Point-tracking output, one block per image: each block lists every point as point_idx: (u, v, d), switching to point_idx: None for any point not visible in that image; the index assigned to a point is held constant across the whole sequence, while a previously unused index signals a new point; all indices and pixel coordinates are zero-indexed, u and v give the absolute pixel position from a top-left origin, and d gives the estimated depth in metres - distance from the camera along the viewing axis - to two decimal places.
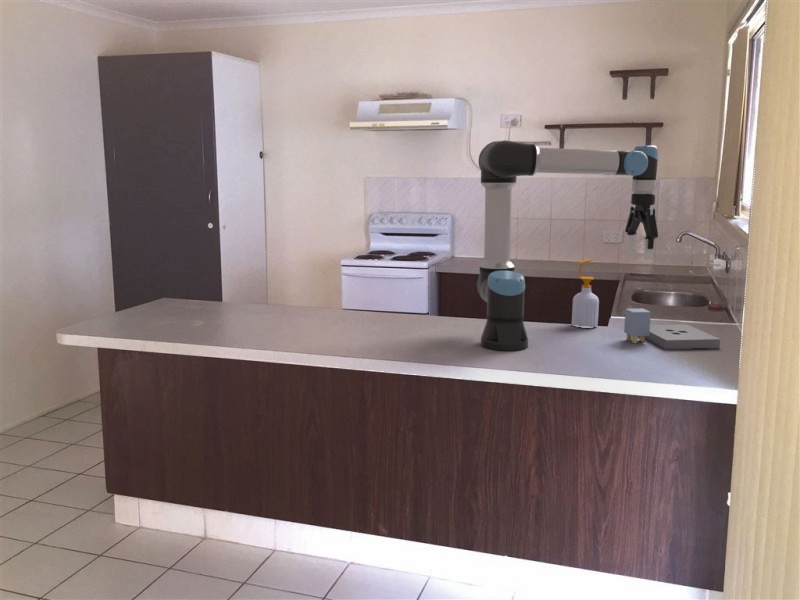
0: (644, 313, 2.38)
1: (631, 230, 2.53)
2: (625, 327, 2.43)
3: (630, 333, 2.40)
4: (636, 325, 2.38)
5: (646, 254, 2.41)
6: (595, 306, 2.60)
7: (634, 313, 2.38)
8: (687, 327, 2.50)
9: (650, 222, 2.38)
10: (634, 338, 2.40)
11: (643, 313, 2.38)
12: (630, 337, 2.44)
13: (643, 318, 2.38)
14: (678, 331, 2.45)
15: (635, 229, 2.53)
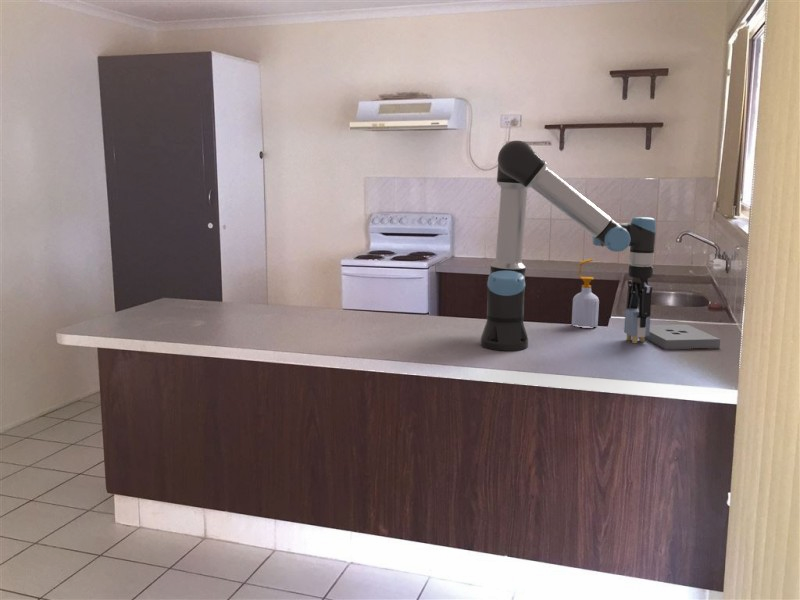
0: None
1: (632, 306, 2.44)
2: (625, 327, 2.43)
3: (630, 333, 2.40)
4: (636, 325, 2.38)
5: (638, 332, 2.38)
6: (595, 306, 2.60)
7: (634, 313, 2.38)
8: (687, 327, 2.50)
9: (645, 301, 2.34)
10: (634, 338, 2.40)
11: None
12: (630, 337, 2.44)
13: None
14: (678, 331, 2.45)
15: (636, 305, 2.44)
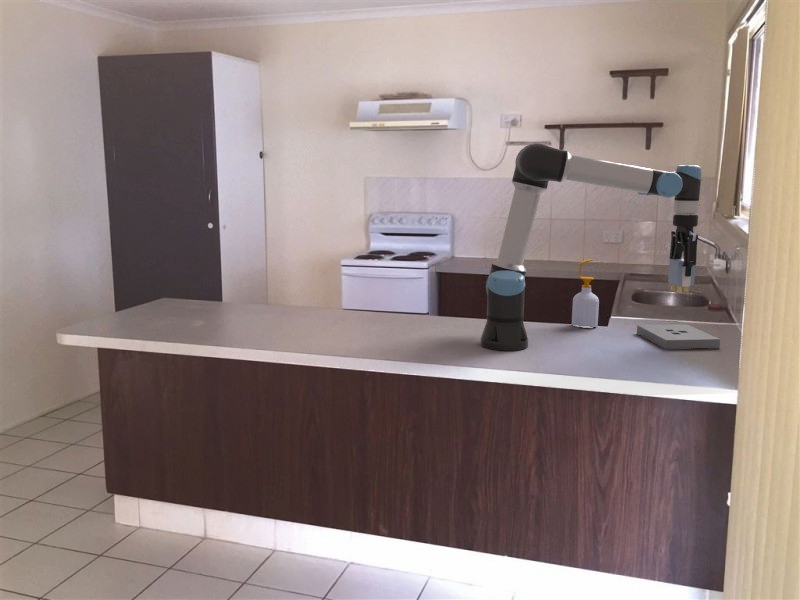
0: None
1: (676, 257, 2.42)
2: (669, 277, 2.42)
3: (675, 283, 2.38)
4: (681, 274, 2.37)
5: (683, 282, 2.37)
6: (595, 306, 2.60)
7: (679, 262, 2.36)
8: (687, 327, 2.50)
9: (690, 249, 2.32)
10: (679, 288, 2.38)
11: None
12: (674, 287, 2.42)
13: None
14: (678, 331, 2.45)
15: (680, 255, 2.42)
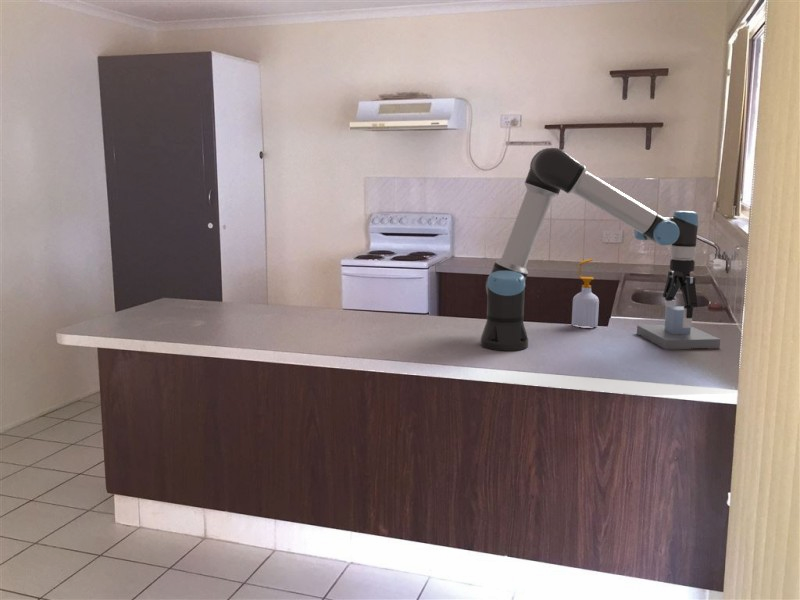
0: None
1: (669, 295, 2.47)
2: (666, 325, 2.45)
3: (671, 331, 2.41)
4: (677, 322, 2.40)
5: (685, 323, 2.36)
6: (595, 306, 2.60)
7: (675, 311, 2.39)
8: None
9: (690, 291, 2.33)
10: None
11: None
12: None
13: None
14: None
15: (673, 294, 2.47)
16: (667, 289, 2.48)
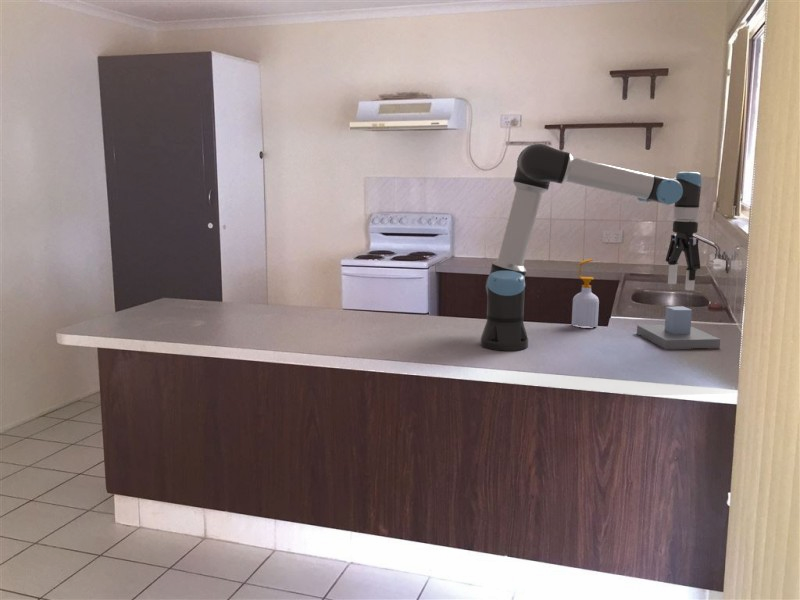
0: (685, 311, 2.39)
1: (672, 259, 2.45)
2: (666, 325, 2.45)
3: (671, 331, 2.41)
4: (677, 322, 2.40)
5: (687, 285, 2.34)
6: (595, 306, 2.60)
7: (675, 311, 2.39)
8: None
9: (693, 253, 2.31)
10: None
11: (684, 311, 2.39)
12: None
13: (685, 316, 2.40)
14: None
15: (676, 258, 2.44)
16: (670, 253, 2.46)
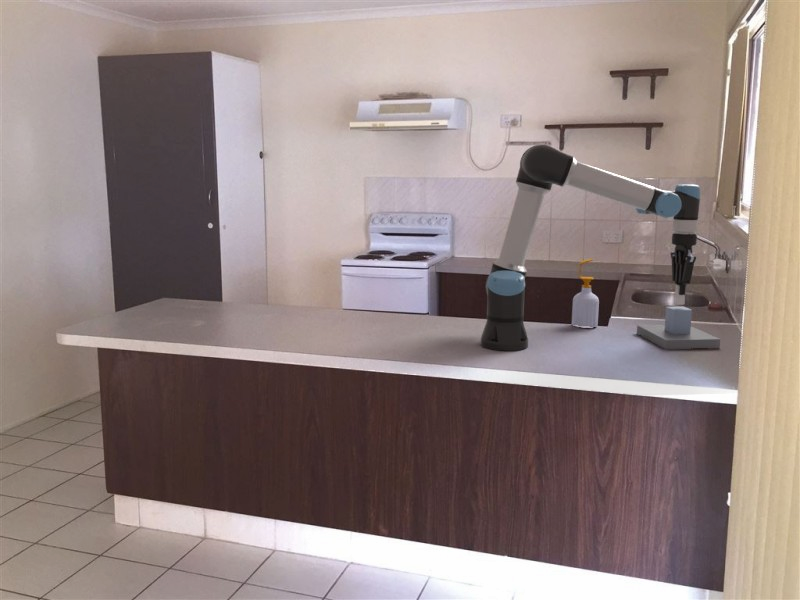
0: (685, 311, 2.39)
1: (678, 276, 2.41)
2: (666, 325, 2.45)
3: (671, 331, 2.41)
4: (677, 322, 2.40)
5: (678, 300, 2.41)
6: (595, 306, 2.60)
7: (675, 311, 2.39)
8: None
9: (686, 270, 2.35)
10: None
11: (684, 311, 2.39)
12: None
13: (685, 316, 2.40)
14: None
15: None
16: (674, 270, 2.43)
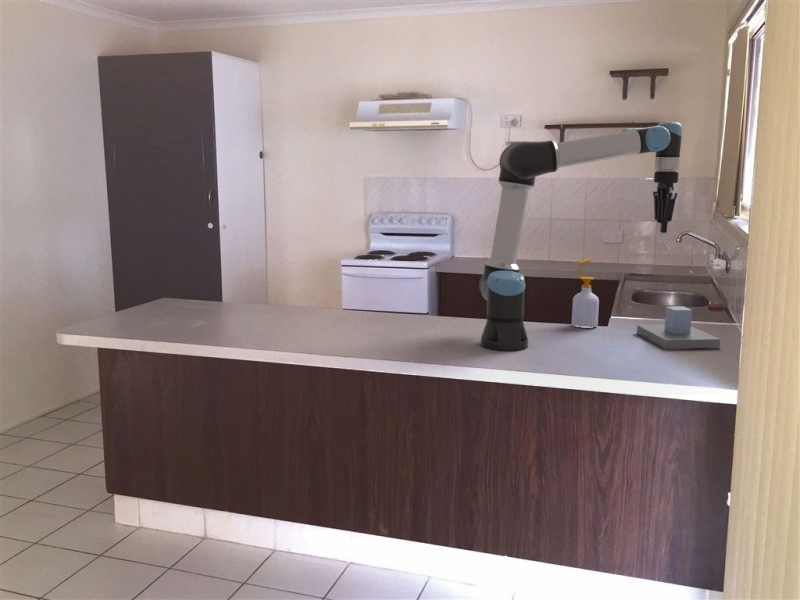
0: (685, 311, 2.39)
1: (660, 215, 2.44)
2: (666, 325, 2.45)
3: (671, 331, 2.41)
4: (677, 322, 2.40)
5: (659, 238, 2.44)
6: (595, 306, 2.60)
7: (675, 311, 2.39)
8: None
9: (668, 207, 2.39)
10: None
11: (684, 311, 2.39)
12: None
13: (685, 316, 2.40)
14: None
15: None
16: (657, 209, 2.46)
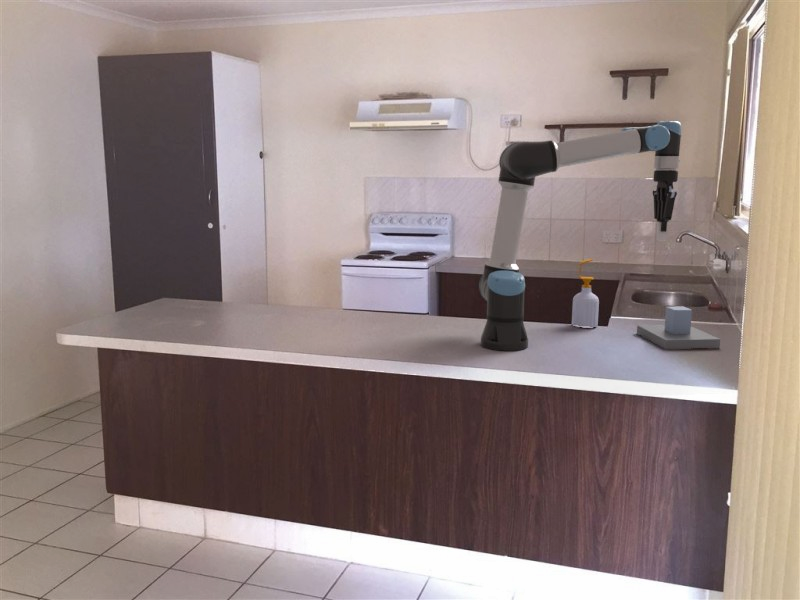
0: (685, 311, 2.39)
1: (660, 214, 2.45)
2: (666, 325, 2.45)
3: (671, 331, 2.41)
4: (677, 322, 2.40)
5: (659, 237, 2.45)
6: (595, 306, 2.60)
7: (675, 311, 2.39)
8: None
9: (668, 206, 2.39)
10: None
11: (684, 311, 2.39)
12: None
13: (685, 316, 2.40)
14: None
15: None
16: (656, 208, 2.47)
